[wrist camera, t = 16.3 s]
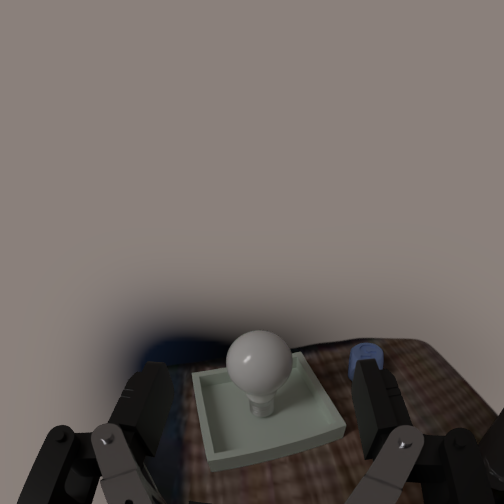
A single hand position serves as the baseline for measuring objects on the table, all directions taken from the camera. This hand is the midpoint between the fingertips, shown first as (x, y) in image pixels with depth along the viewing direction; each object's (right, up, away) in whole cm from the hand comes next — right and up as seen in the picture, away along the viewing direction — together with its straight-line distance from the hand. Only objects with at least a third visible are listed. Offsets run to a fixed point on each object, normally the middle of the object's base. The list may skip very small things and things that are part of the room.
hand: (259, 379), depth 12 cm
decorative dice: (+14, -11, +24) cm, 30 cm away
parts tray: (+1, -13, +19) cm, 23 cm away
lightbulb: (+1, -13, +19) cm, 23 cm away
